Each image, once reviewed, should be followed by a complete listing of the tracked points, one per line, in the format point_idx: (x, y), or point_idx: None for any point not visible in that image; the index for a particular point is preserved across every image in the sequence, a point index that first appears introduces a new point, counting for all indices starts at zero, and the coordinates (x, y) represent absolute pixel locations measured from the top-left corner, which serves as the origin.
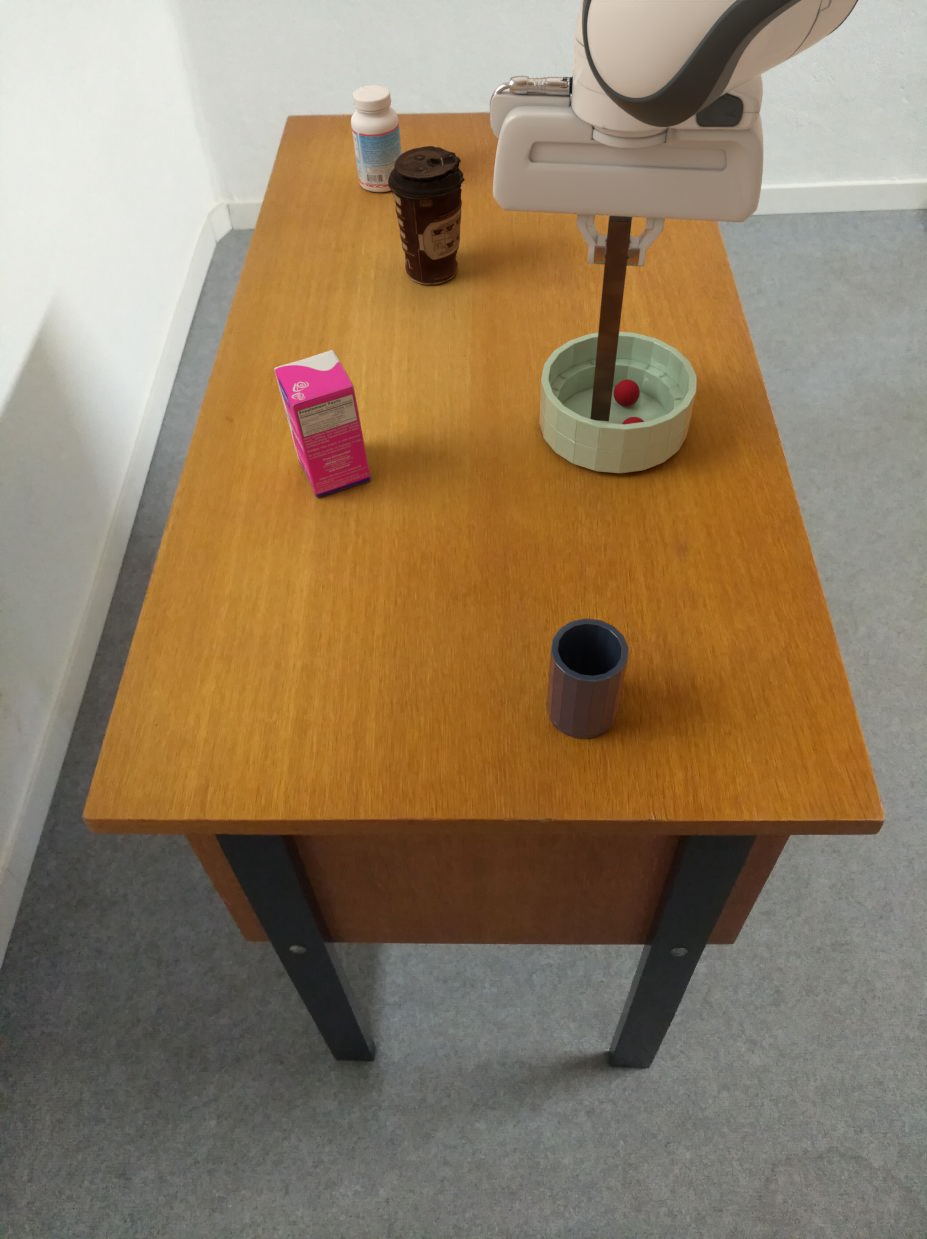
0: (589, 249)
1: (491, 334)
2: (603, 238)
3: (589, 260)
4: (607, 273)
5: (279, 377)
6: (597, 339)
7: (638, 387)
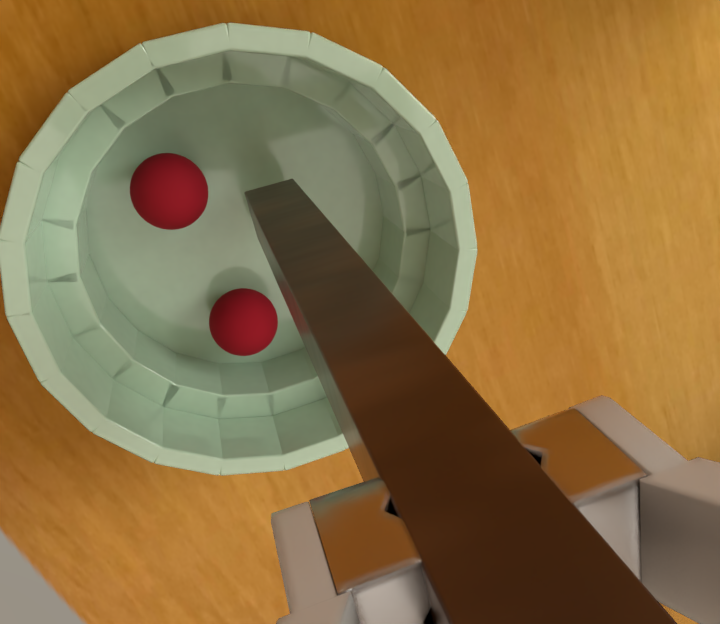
0: (660, 445)
1: (586, 397)
2: None
3: (606, 403)
4: (461, 402)
5: None
6: None
7: (218, 340)
